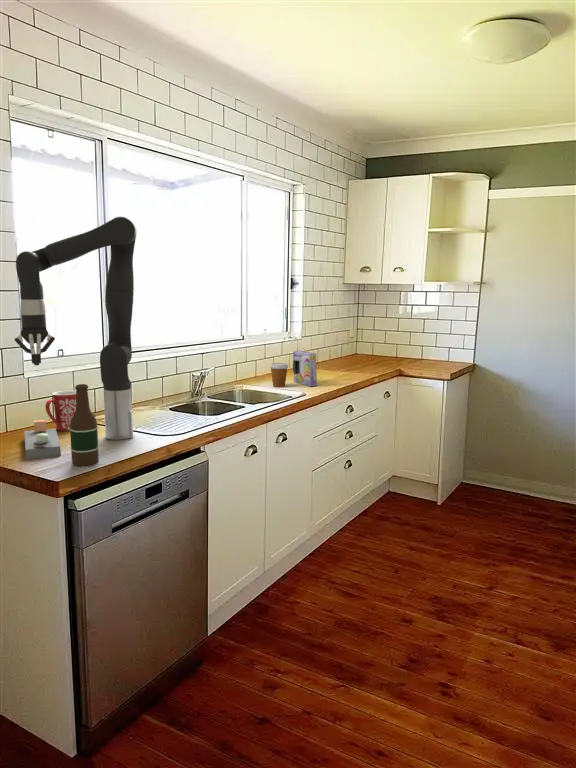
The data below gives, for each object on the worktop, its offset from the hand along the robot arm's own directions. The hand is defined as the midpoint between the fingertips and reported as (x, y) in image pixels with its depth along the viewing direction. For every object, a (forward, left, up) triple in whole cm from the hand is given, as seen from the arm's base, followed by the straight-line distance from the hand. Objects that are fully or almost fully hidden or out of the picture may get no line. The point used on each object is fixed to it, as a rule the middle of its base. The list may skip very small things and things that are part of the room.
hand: (36, 365), depth 198 cm
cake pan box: (-117, -96, -26) cm, 153 cm away
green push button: (-4, +19, -21) cm, 29 cm away
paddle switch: (0, 0, -23) cm, 23 cm away
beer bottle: (-18, +30, -26) cm, 44 cm away
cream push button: (-3, +15, -23) cm, 28 cm away
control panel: (-2, +9, -26) cm, 28 cm away
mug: (-5, -15, -26) cm, 31 cm away
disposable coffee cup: (-102, -91, -26) cm, 139 cm away
